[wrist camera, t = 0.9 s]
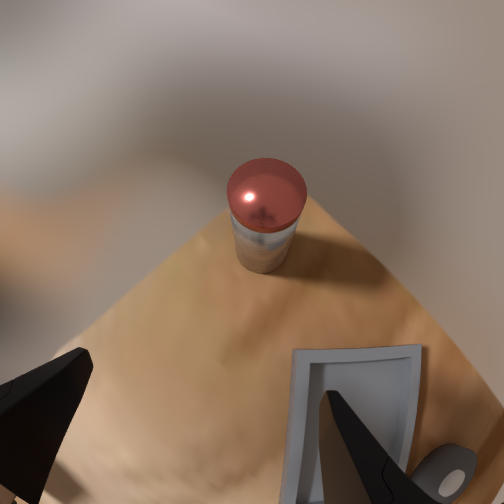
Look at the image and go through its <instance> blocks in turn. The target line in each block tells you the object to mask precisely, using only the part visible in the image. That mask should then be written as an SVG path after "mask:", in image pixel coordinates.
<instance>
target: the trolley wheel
mask: <svg viewBox="0 0 504 504" xmlns="http://www.w3.org/2000/svg"><path fill="white" fill-rule="evenodd" d="M476 466H477V456H476V453H475V452H474V451H472V450H470V449H467V448H464V447H462V446H459V445H456V444H445V445H443V446H440V447H438V448H437V449H435V450H434V451H432V452H431V453H430V454H428V455H427V456H426V457H425V458H424V459H423V460H422V461H421V462H420V464H419V465H418V466H417V467H416V469H415V470H414V472H413V473H412V475H411V477H410V479H411V480H412V481H413V482H415V483H416V484H417V485H418V486H419V487H420V488H421V489H422V490H423V491H425V492H426V493H427V494H428V495H429V496H430V497H431V498H433V499H434V500H436V501H438V502H440V503H443V504H451V503H452V502H453V501H454V500H456V499H457V498H458V497H459V496H460V495H461V493H462V492H463V491H464V490H465V489H466V487H467V486H468V484H469V483H470V481H471V479H472V477H473V475H474V473H475V470H476Z"/></svg>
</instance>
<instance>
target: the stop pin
mask: <svg viewBox="0 0 504 504" xmlns="http://www.w3.org/2000/svg"><path fill="white" fill-rule="evenodd" d="M227 196H228V203H229V209H230V216H231V222H232V228H233V234H234V240H235V246H236V252H237V257H238V259H239V261H240V263H241V264H242V265H243V266H244V267H245V268H246V269H248V270H249V271H252V272H255V273H269V272H272V271H274V270H275V269H277V268H278V267H279V266H280V265H281V264H282V263H283V261H284V259H285V256H286V254H287V251H288V248H289V246H290V243H291V240H292V238H293V235H294V232H295V230H296V227H297V224H298V221H299V219H300V216H301V213H302V210H303V208H304V205H305V202H306V198H307V189H306V185H305V182H304V179H303V178H302V176H301V175H300V173H299V172H298V171H297V170H296V169H295V168H293V167H292V166H291V165H289V164H287V163H285V162H283V161H280V160H277V159H272V158H259V159H254V160H251V161H248V162H246V163H245V164H243V165H241V166H240V167H239V168H238V169H236V170H235V171H234V173H233V174H232V175H231V177H230V179H229V182H228V186H227Z"/></svg>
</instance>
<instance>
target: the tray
mask: <svg viewBox="0 0 504 504" xmlns="http://www.w3.org/2000/svg"><path fill="white" fill-rule="evenodd" d="M421 347H422V344H411V345H398V346H385V347H370V348H347V349H293V351H292V369H291V385H290V400H289V413H288V425H287V436H286V446H285V456H284V465H283V474H282V483H281V491H280V499H279V504H324V497H323V485H322V474H321V464H320V455H319V405H320V402H321V400H322V397H323V395H324V393H325V391H326V390H337V391H338V392H339V393H340V394H341V396H342V397H343V398H344V399H345V401H346V402H347V403H348V404H349V406H350V407H351V408H352V410H353V411H354V412H355V413H356V415H357V416H358V417H359V418H360V420H361V421H362V422H363V423H364V425H365V426H366V427H367V428H368V430H369V431H370V432H371V433H372V435H373V436H374V437H375V438H376V440H377V441H378V442H379V443H380V445H381V446H382V447H383V448H384V449H385V451H386V452H387V453H388V454H389V455H388V456H390V457H391V458H392V459H393V460H394V462H395V463H396V464H397V465H398V466H399V467H400V468H401V470H402V471H403V472H404V473H405V471H406V467H407V463H408V458H409V454H410V449H411V444H412V438H413V433H414V427H415V420H416V413H417V405H418V396H419V385H420V372H421Z"/></svg>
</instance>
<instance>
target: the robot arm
mask: <svg viewBox="0 0 504 504" xmlns="http://www.w3.org/2000/svg"><path fill="white" fill-rule="evenodd" d="M92 370H93V362H92V360H91V357H90V354H89V351H88V350H87V349H84V348H81V347H78V348H76V349H74V350H72V351H70V352H68V353H66V354H64V355H62V356H60V357H58V358H56V359H54V360H52V361H50V362H47V363H45V364H43V365H41V366H39V367H37V368H35V369H33V370H31V371H29V372H27V373H25V374H23V375H21V376H19V377H17V378H15V379H14V380H11V381H9V382H7V383H4V384H2V385H0V504H17V502H16V501H15V498H16V496H18V497H19V498H21V499H22V500H24V501H25V502H27V503H29V504H39V501H40V498H41V495H42V492H43V489H44V487H45V484H46V481H47V478H48V476H49V472H50V470H51V467H52V465H53V462H54V460H55V457H56V455H57V453H58V450H59V448H60V445H61V443H62V441H63V438H64V436H65V434H66V432H67V429H68V427H69V425H70V423H71V421H72V419H73V416H74V414H75V412H76V410H77V408H78V406H79V404H80V402H81V399H82V397H83V395H84V392H85V389H86V386H87V384H88V381H89V378H90V376H91V373H92ZM319 455H320V464H321V474H322V485H323V497H324V504H443V503H440V502H438V501H436V500H434V499H433V498H431V497H430V496H429V495H428V494H427V493H426V492H425V491H423V490H422V489H421V488H420V487H419V486H418V485H417V484H416V483H415V482H413V481H412V480H411V479H410V478H409V477H408V476H407V475H406V474H405V473H404V472H403V471H402V470H401V468H400V467H399V466H398V465H397V464H396V463H395V462H394V460H393V459H392V458H391V457H390V456H388V455H389V454H388V453H387V452H386V451H385V449H384V448H383V447H382V446H381V445H380V443H379V442H378V441H377V440H376V438H375V437H374V436H373V435H372V433H371V432H370V431H369V430H368V428H367V427H366V426H365V425H364V423H363V422H362V421H361V420H360V418H359V417H358V416H357V415H356V413H355V412H354V411H353V410H352V408H351V407H350V406H349V404H348V403H347V402H346V401H345V399H344V398H343V397H342V396H341V394H340V393H339V392H338V391H337V390H326V391H325V393H324V395H323V397H322V400H321V402H320V405H319ZM501 504H504V502H503V503H501Z"/></svg>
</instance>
